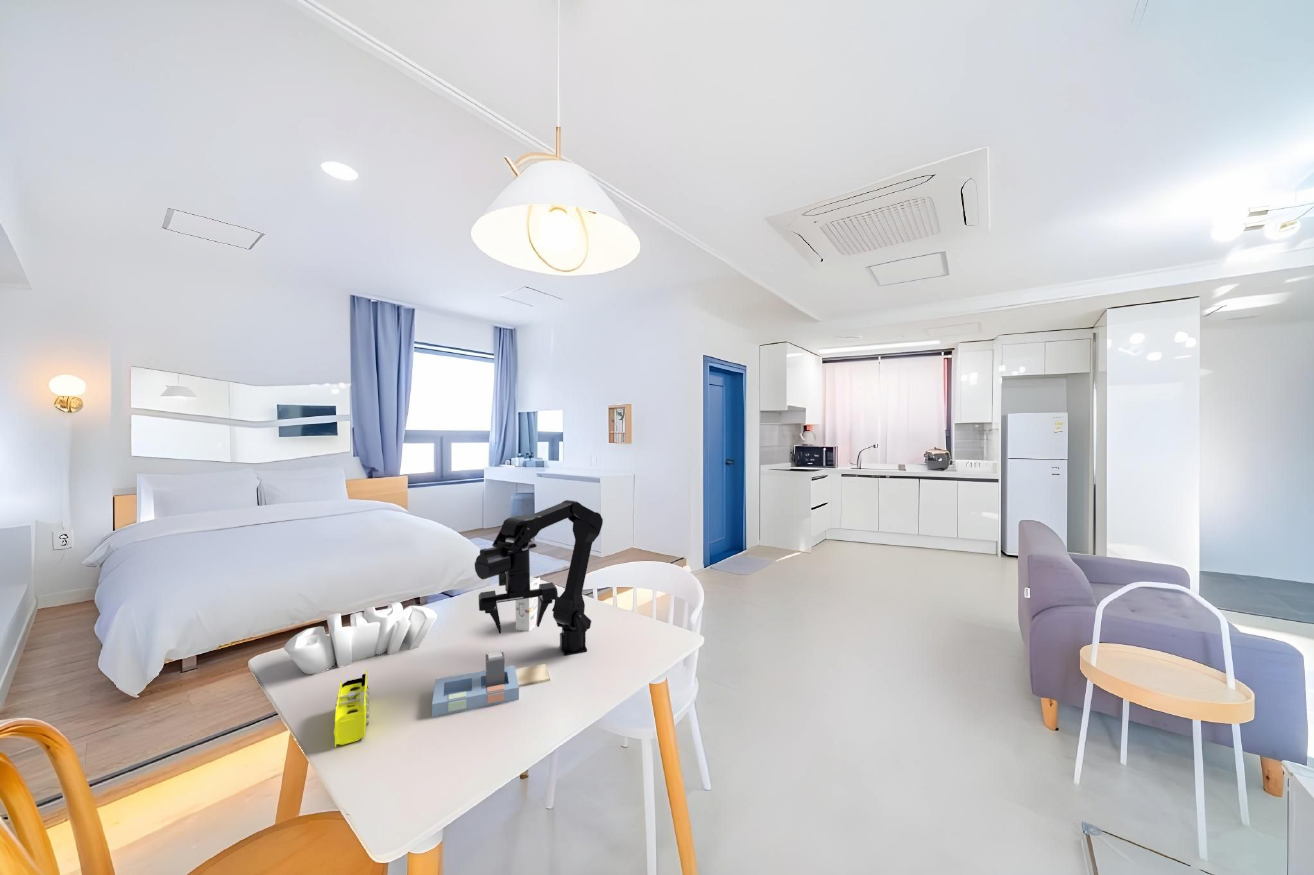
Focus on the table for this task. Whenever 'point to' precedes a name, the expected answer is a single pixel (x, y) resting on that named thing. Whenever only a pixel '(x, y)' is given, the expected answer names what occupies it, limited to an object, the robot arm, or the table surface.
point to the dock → (472, 692)
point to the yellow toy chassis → (351, 711)
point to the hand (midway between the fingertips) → (519, 629)
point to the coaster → (532, 675)
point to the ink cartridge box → (527, 610)
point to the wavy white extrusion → (360, 637)
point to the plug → (495, 668)
